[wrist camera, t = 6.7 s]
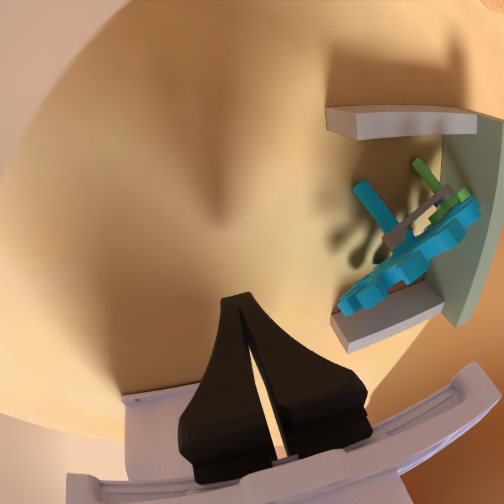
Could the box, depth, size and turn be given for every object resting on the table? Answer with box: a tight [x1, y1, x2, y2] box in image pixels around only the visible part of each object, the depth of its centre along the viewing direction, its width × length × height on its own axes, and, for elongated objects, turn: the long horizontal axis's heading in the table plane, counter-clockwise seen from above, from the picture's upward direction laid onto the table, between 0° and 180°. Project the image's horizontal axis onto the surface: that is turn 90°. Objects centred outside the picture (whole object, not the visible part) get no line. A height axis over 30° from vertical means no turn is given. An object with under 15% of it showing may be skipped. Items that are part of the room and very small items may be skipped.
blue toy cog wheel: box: [336, 157, 482, 317], centre depth 15 cm, size 11×6×10 cm
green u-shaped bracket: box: [325, 105, 504, 354], centre depth 16 cm, size 11×15×5 cm
